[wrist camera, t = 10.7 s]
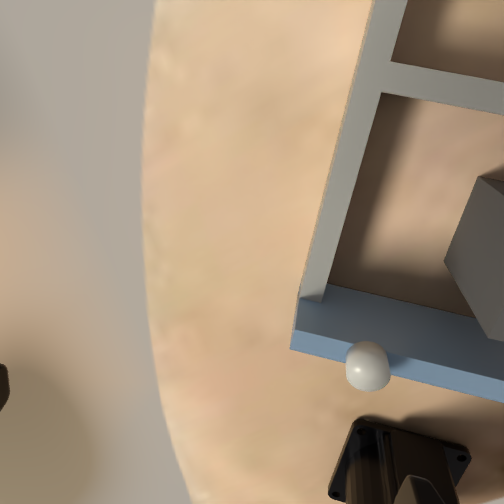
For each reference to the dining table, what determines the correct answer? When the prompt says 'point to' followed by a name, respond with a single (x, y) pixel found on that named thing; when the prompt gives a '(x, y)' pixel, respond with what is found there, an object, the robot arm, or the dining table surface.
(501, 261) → the grey cube with knob
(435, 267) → the dining table surface
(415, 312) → the organiser
